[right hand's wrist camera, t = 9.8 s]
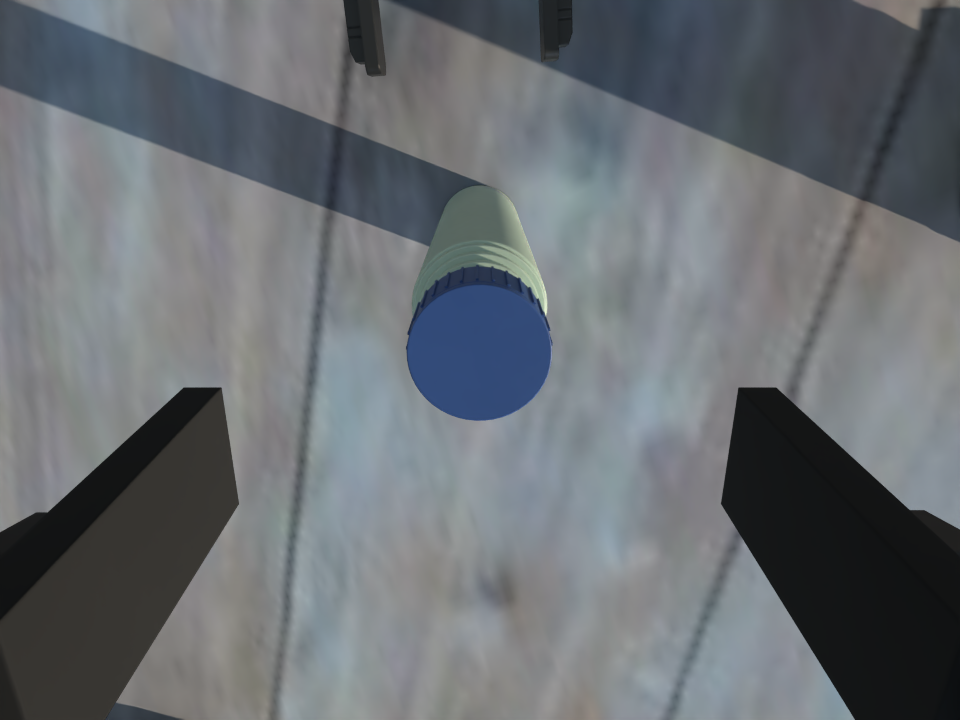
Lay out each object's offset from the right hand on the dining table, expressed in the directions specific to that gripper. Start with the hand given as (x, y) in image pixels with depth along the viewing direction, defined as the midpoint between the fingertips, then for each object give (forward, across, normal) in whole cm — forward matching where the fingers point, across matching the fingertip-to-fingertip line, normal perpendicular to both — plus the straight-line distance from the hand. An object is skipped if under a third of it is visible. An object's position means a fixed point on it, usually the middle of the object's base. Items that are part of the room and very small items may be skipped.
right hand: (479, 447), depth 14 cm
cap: (+6, 0, 0) cm, 6 cm away
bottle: (+29, 0, 0) cm, 29 cm away
